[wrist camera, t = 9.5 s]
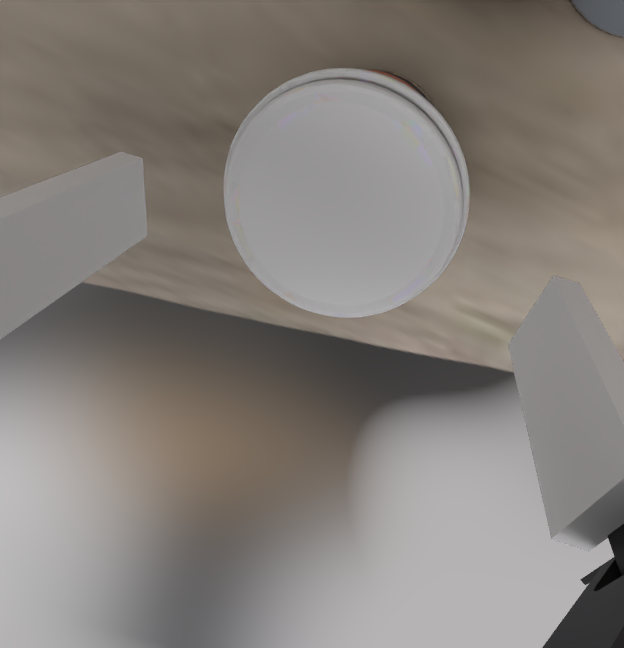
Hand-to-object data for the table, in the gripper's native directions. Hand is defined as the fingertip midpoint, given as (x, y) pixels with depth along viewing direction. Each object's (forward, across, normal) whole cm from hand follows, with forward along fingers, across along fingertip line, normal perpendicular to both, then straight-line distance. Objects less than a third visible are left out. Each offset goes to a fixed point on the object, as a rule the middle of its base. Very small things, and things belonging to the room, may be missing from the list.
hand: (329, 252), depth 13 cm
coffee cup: (+15, 0, 0) cm, 15 cm away
